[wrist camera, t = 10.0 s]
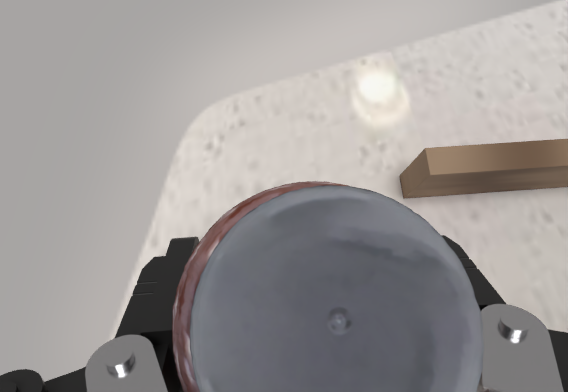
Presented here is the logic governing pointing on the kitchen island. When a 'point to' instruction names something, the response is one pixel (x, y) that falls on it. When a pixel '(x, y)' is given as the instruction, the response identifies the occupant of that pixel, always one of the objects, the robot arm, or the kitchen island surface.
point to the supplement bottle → (325, 299)
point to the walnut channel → (487, 168)
